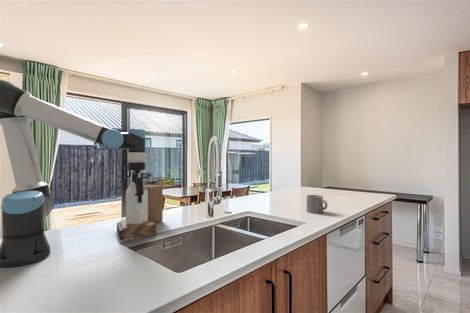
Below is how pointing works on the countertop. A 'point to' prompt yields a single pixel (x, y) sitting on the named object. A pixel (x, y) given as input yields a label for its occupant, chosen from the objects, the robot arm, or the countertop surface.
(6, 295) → the countertop surface
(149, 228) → the block
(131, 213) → the milk carton
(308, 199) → the coffee mug
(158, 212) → the wooden block
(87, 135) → the robot arm
